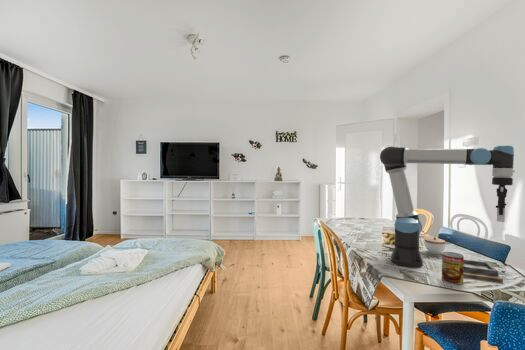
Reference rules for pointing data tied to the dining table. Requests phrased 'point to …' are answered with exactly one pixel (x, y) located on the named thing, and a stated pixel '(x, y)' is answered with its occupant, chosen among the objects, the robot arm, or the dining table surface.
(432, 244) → the lidded jar
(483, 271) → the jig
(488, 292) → the dining table surface
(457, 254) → the canned food
